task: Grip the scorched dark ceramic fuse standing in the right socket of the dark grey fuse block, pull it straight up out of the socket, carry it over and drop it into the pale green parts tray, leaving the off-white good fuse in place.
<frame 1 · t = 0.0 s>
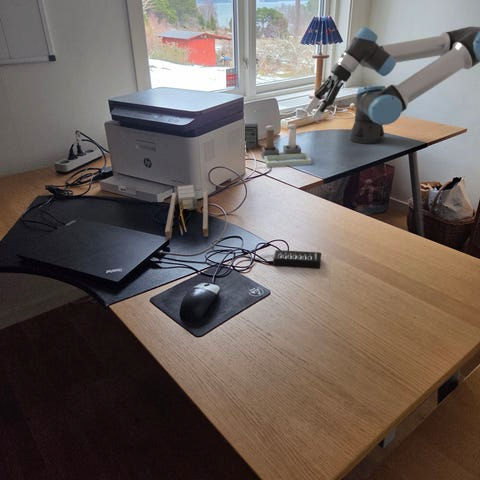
hand: (311, 115, 172), 15 cm above the table, tool tilted 35°, fingers open, 13 cm apart
parts tray: (287, 164, 166), on the table
fuse block: (281, 157, 174), on the table
small box: (246, 149, 188), on the table
electrical component: (189, 217, 127), on the table
multiport hub: (297, 264, 101), on the table
cable rest strips: (189, 216, 127), on the table
good fuse: (292, 154, 174), point 1 cm above the table, touching fuse block
blown fuse: (270, 155, 173), point 1 cm above the table, touching fuse block
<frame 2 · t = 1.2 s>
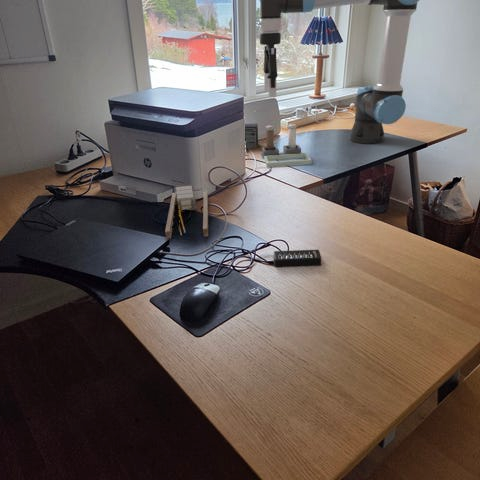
hand: (270, 93, 162), 25 cm above the table, tool pointing down, fingers open, 13 cm apart
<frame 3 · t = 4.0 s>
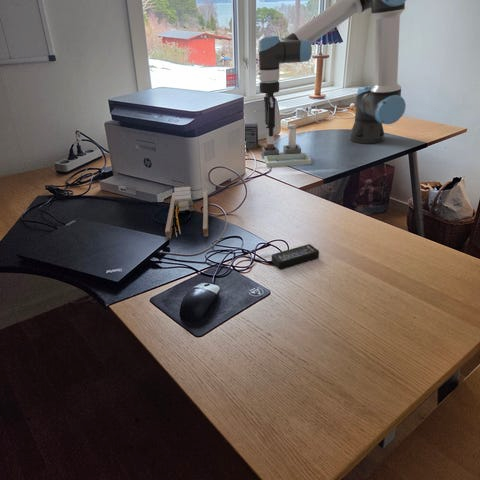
hand: (270, 142, 171), 7 cm above the table, tool pointing down, fingers closed on blown fuse, 3 cm apart
electrical component: (184, 219, 126), on the table
blown fuse: (270, 155, 173), point 1 cm above the table, touching fuse block, gripper
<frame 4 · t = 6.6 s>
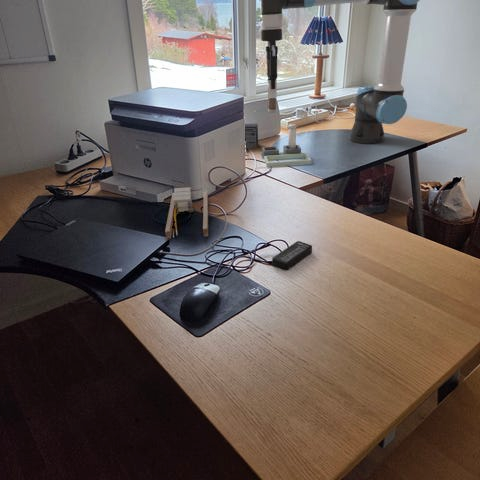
hand: (272, 96, 161), 24 cm above the table, tool pointing down, fingers closed on blown fuse, 3 cm apart
blown fuse: (272, 111, 164), point 19 cm above the table, touching gripper
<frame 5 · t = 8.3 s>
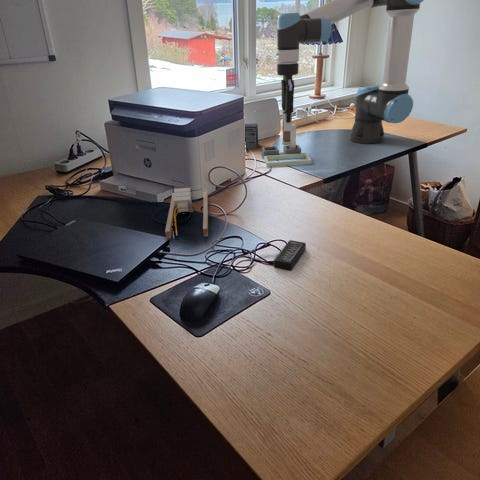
hand: (286, 129, 159), 14 cm above the table, tool pointing down, fingers closed on blown fuse, 3 cm apart
blown fuse: (286, 144, 162), point 8 cm above the table, touching gripper
when the fingers open (8 cm above the table, at t = 9.5 s): blown fuse drops 2 cm, resting on parts tray.
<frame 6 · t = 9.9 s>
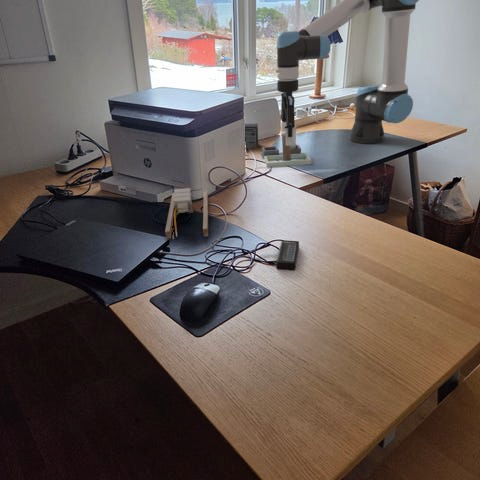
hand: (287, 141, 162), 9 cm above the table, tool pointing down, fingers open, 8 cm apart
blown fuse: (287, 162, 166), point 1 cm above the table, touching parts tray
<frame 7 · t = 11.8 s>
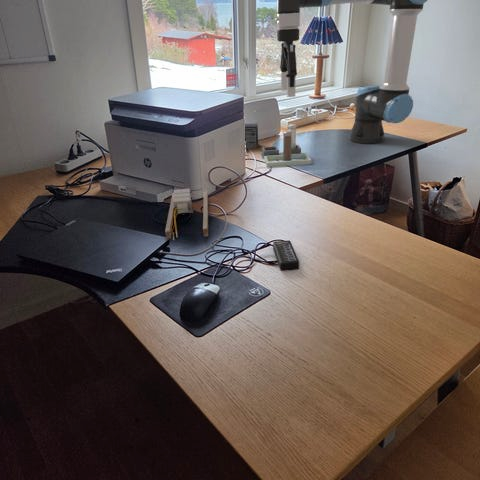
hand: (287, 93, 153), 27 cm above the table, tool pointing down, fingers open, 13 cm apart
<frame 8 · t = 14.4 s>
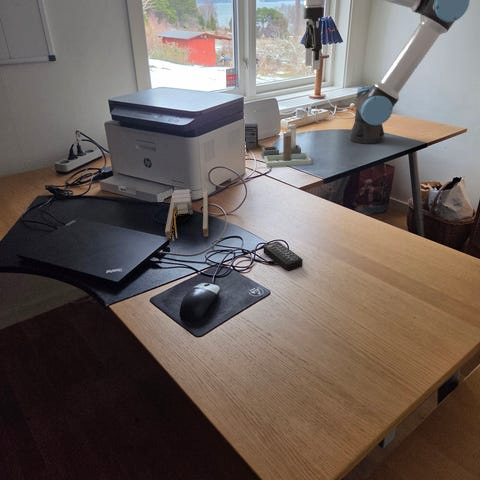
hand: (311, 67, 168), 33 cm above the table, tool pointing down, fingers open, 13 cm apart
at the end: blown fuse inside the target area on the parts tray (0.0 cm from its centre), point 0.6 cm above the parts tray's base; the gripper is holding nothing; good fuse moved 0.0 cm from its start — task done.
